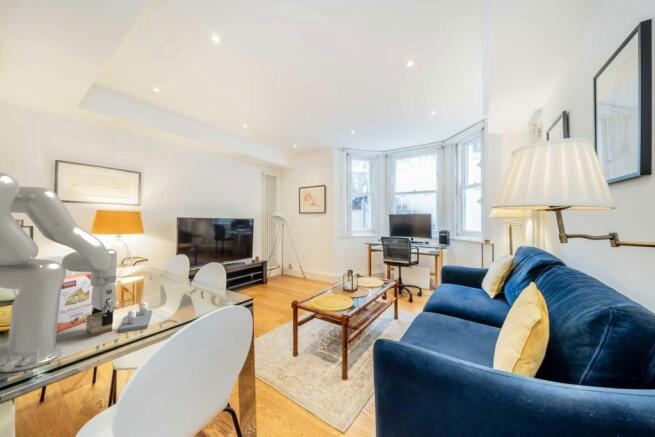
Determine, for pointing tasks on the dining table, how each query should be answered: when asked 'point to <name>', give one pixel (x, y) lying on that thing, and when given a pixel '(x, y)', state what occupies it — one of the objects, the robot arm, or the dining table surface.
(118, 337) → the dining table surface
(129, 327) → the pin board
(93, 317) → the sleeve
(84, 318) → the cracker box
